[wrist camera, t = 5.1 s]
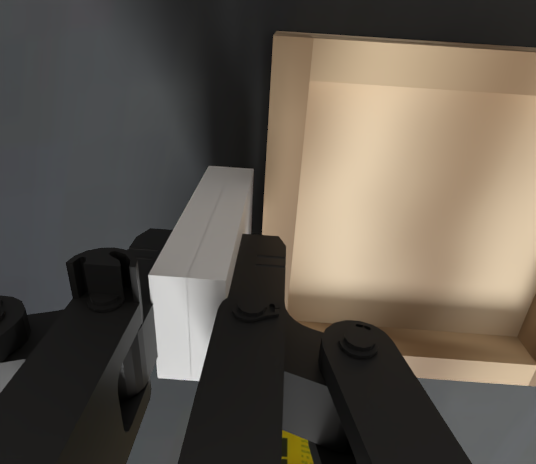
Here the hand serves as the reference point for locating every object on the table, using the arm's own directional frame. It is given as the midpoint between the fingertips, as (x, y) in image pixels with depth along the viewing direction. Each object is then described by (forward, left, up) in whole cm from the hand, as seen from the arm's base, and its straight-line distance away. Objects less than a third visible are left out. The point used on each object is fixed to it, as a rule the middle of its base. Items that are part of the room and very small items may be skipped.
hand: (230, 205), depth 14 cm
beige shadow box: (+7, 0, -2) cm, 7 cm away
